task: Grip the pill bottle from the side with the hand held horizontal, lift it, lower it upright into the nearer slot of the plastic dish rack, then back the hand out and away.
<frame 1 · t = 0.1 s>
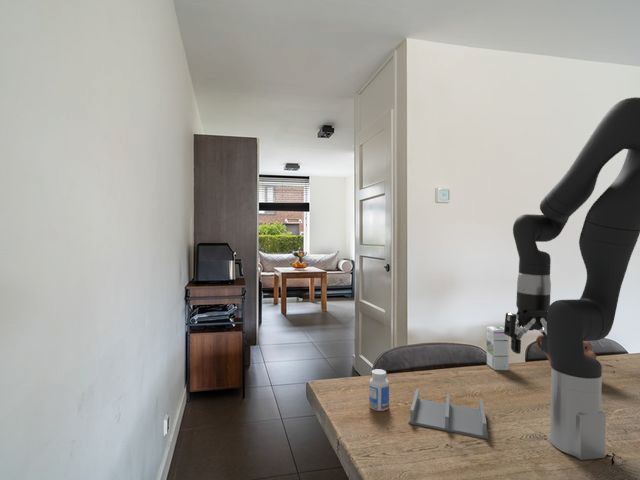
hand: (530, 352, 92), 17 cm above the table, tool pointing down, fingers open, 8 cm apart
decorative planter: (563, 373, 124), on the table
pill bottle: (378, 407, 97), on the table
syrup box: (497, 367, 129), on the table
dish rack: (447, 417, 92), on the table
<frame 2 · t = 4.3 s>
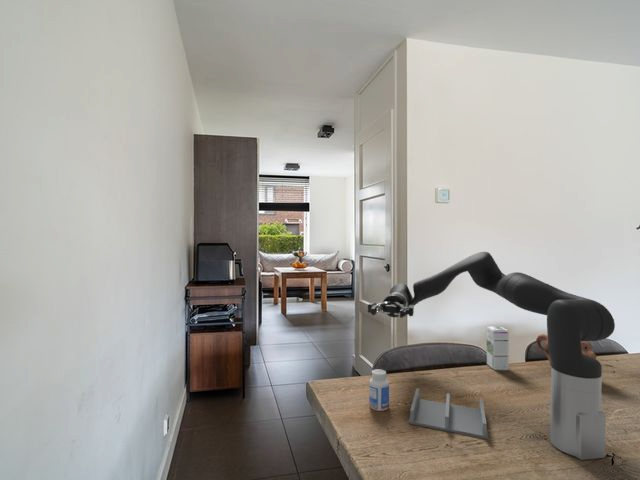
hand: (386, 313, 107), 24 cm above the table, tool horizontal, fingers open, 8 cm apart
nothing on the table moved.
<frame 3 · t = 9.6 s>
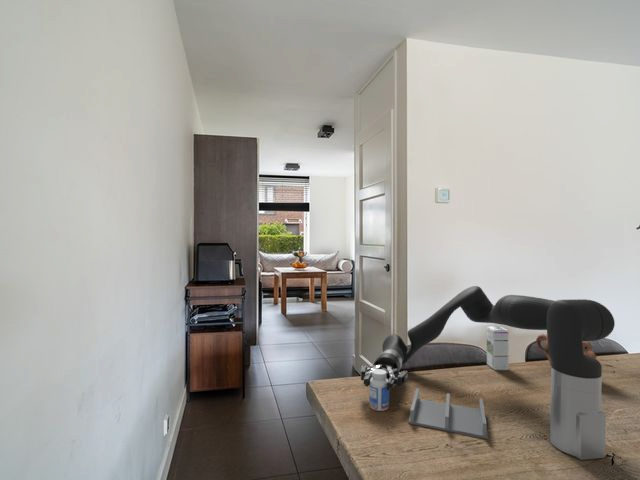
hand: (377, 384, 95), 7 cm above the table, tool horizontal, fingers closed on pill bottle, 5 cm apart
pill bottle: (378, 407, 97), on the table, touching gripper
everything else where it was.
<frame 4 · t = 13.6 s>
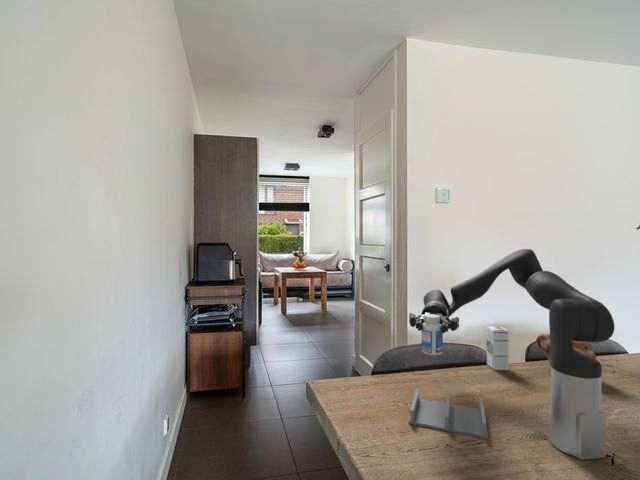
hand: (431, 328, 91), 24 cm above the table, tool horizontal, fingers closed on pill bottle, 5 cm apart
pill bottle: (431, 352, 93), point 16 cm above the table, touching gripper
everything else where it was.
when the fingers open (9 cm above the table, at t = 17.4 s): pill bottle drops 2 cm, resting on dish rack.
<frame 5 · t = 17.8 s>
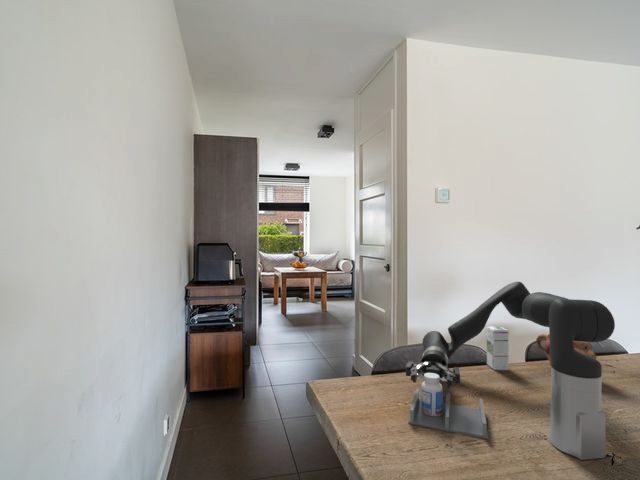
hand: (430, 381, 92), 10 cm above the table, tool horizontal, fingers open, 8 cm apart
pill bottle: (431, 412, 93), resting on dish rack
everything else where it was.
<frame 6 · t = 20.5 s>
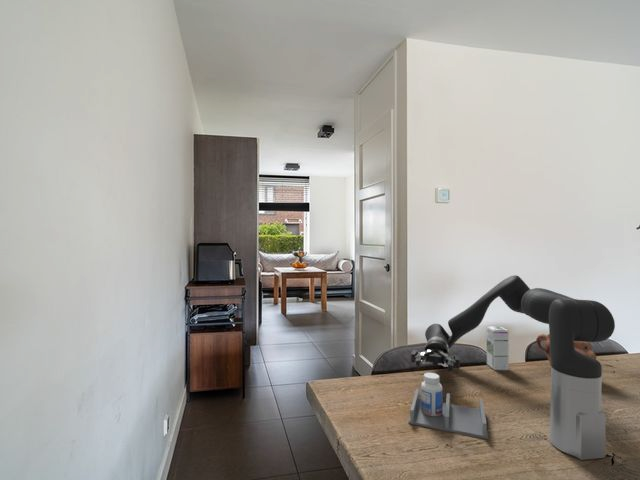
hand: (433, 366, 103), 9 cm above the table, tool horizontal, fingers open, 8 cm apart
nothing on the table moved.
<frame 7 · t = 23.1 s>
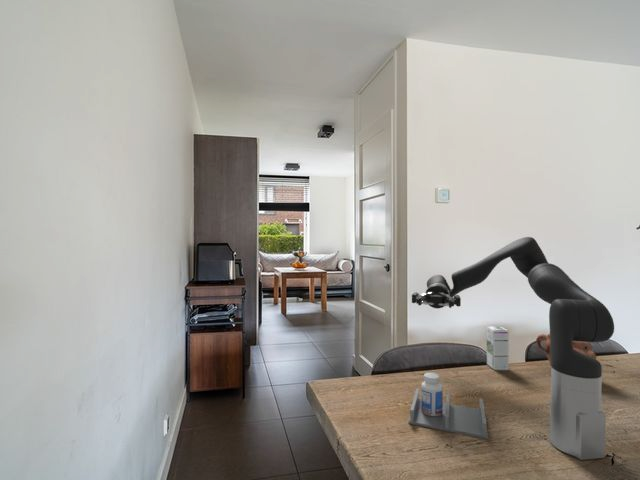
hand: (434, 303, 103), 28 cm above the table, tool horizontal, fingers open, 8 cm apart
nothing on the table moved.
at the end: pill bottle 0.2 cm from the target spot on the dish rack, point 0.4 cm above the dish rack's base; pill bottle tilted 0°; the gripper is holding nothing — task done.
